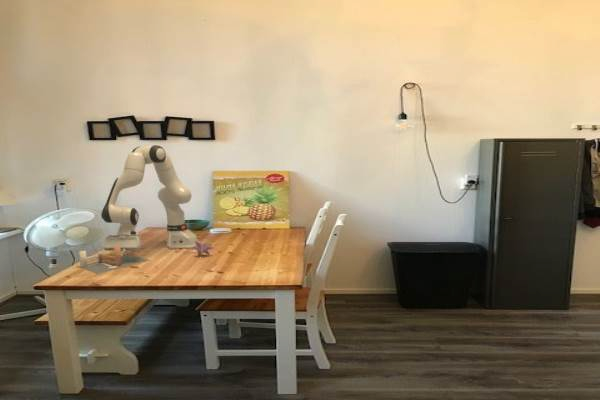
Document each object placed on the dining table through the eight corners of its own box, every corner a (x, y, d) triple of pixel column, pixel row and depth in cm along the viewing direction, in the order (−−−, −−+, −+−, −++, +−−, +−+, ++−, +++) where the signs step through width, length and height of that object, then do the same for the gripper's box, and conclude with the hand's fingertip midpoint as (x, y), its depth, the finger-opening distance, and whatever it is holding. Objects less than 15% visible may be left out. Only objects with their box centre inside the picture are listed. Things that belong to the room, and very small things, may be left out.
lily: (216, 258, 224) (216, 242, 228) (202, 254, 215) (202, 238, 218) (201, 262, 230) (201, 246, 233) (187, 259, 220) (187, 243, 223)
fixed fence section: (103, 262, 213) (102, 248, 212) (82, 267, 204) (80, 252, 203) (101, 261, 215) (99, 247, 214) (79, 266, 206) (78, 251, 205)
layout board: (150, 260, 217) (150, 259, 217) (97, 274, 194) (97, 273, 194) (130, 255, 230) (130, 254, 230) (78, 267, 207) (78, 266, 207)
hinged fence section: (118, 265, 206) (116, 247, 205) (99, 262, 212) (98, 245, 210) (123, 263, 209) (121, 246, 207) (104, 261, 215) (103, 244, 213)
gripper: (104, 232, 215) (97, 253, 207) (141, 232, 216) (135, 253, 207) (109, 238, 220) (101, 259, 212) (144, 238, 221) (138, 259, 212)
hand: (118, 256), depth 210 cm, fingers closed
